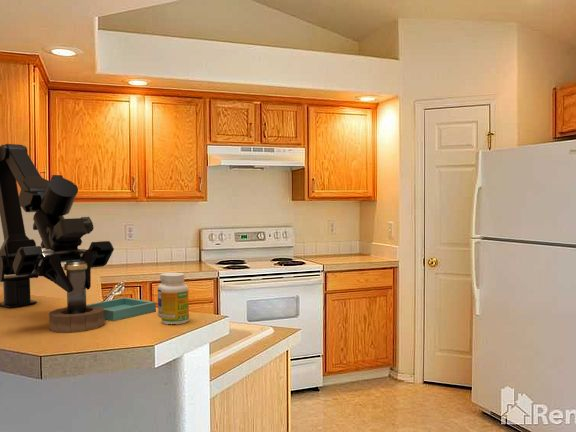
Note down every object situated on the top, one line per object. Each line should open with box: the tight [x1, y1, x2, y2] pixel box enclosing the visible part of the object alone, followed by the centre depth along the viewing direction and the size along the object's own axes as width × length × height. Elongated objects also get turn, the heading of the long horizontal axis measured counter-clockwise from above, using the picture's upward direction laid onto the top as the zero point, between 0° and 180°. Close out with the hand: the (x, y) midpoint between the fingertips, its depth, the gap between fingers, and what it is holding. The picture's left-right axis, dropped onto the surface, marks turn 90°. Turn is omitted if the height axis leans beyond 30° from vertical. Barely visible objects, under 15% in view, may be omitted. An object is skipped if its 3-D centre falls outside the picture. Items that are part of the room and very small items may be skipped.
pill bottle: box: [157, 271, 175, 317], centre depth 113 cm, size 5×5×9 cm
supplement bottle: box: [161, 272, 190, 325], centre depth 106 cm, size 5×5×10 cm
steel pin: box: [63, 260, 87, 314], centre depth 104 cm, size 4×4×12 cm
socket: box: [48, 306, 106, 333], centre depth 104 cm, size 10×10×3 cm
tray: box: [86, 296, 157, 322], centre depth 115 cm, size 11×11×2 cm
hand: (79, 289), depth 103 cm, fingers closed on steel pin, 3 cm apart
